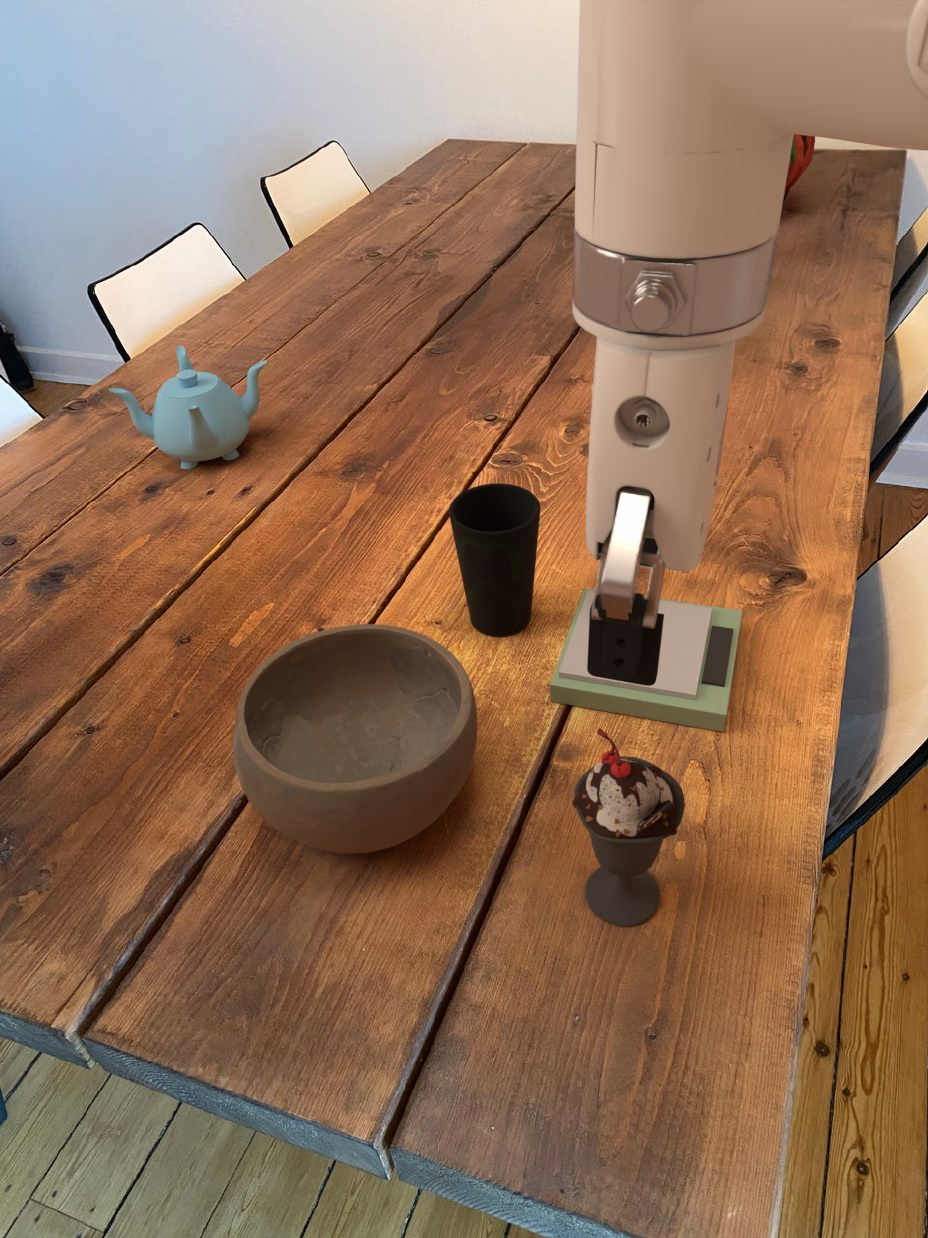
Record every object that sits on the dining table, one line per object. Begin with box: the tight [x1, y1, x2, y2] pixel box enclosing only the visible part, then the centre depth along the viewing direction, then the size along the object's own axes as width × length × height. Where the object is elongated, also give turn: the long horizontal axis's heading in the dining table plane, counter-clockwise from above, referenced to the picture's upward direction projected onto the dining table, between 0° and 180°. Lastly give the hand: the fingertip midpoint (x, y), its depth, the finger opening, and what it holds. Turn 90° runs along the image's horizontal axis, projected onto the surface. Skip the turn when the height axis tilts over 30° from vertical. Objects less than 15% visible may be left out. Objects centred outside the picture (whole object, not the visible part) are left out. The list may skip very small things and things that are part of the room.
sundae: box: [572, 727, 686, 927], centre depth 59 cm, size 7×7×15 cm
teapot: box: [108, 345, 268, 470], centre depth 111 cm, size 13×13×10 cm
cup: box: [448, 482, 541, 638], centre depth 83 cm, size 8×8×12 cm
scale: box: [549, 587, 743, 733], centre depth 80 cm, size 14×13×3 cm
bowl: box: [232, 623, 478, 855], centre depth 69 cm, size 17×18×10 cm
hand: (639, 612), depth 48 cm, fingers open, 9 cm apart
